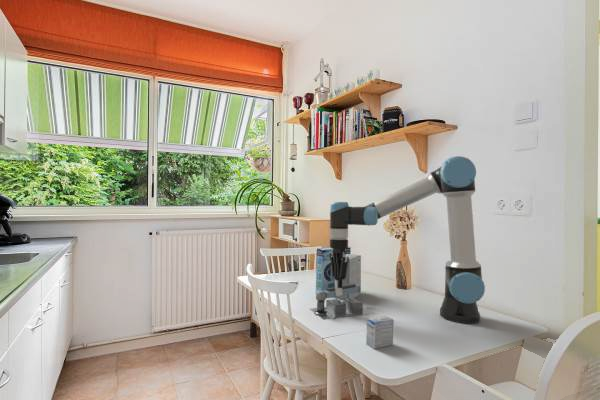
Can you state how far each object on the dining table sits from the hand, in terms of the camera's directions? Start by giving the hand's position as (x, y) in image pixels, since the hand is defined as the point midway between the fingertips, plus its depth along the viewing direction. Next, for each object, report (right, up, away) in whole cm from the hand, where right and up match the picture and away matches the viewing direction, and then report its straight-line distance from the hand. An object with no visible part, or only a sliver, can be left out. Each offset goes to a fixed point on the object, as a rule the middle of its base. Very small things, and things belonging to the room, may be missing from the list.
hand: (338, 295), depth 147 cm
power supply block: (-1, -7, 0) cm, 7 cm away
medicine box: (+10, -8, -31) cm, 34 cm away
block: (+6, -7, +3) cm, 10 cm away
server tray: (+2, -8, +1) cm, 8 cm away
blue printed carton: (+1, -8, +33) cm, 34 cm away
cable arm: (+1, -1, +3) cm, 4 cm away
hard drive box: (+7, -8, +25) cm, 27 cm away
